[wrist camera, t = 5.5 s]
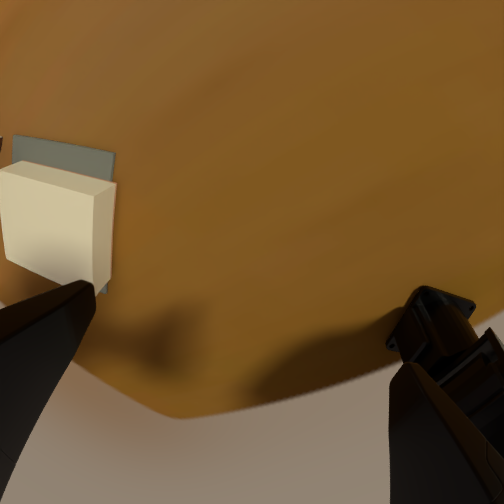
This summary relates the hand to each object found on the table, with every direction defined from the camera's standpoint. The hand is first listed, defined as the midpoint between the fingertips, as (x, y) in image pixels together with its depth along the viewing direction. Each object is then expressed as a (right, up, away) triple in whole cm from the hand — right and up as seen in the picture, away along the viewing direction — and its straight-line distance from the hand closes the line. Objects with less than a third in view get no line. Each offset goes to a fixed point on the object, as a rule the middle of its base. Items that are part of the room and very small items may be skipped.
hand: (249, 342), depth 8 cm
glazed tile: (-10, +3, +12) cm, 16 cm away
